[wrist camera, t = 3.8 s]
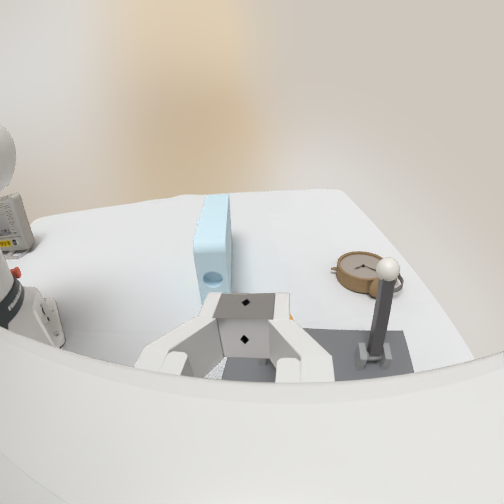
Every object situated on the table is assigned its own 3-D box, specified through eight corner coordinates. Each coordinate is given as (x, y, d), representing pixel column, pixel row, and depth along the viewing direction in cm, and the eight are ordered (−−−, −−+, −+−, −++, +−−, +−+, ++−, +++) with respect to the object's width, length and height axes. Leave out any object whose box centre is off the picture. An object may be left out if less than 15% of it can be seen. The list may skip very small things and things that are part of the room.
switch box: (393, 423, 27) (426, 384, 22) (226, 417, 30) (216, 378, 25) (384, 365, 35) (407, 320, 30) (240, 359, 38) (236, 311, 33)
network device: (40, 244, 71) (23, 189, 61) (27, 258, 64) (7, 200, 53) (1, 247, 71) (-15, 200, 60) (-11, 260, 63) (-29, 211, 53)
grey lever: (385, 365, 26) (404, 259, 24) (363, 365, 26) (381, 258, 25) (379, 354, 28) (395, 256, 27) (359, 355, 29) (374, 255, 27)
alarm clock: (352, 246, 60) (412, 261, 49) (352, 265, 62) (409, 282, 51) (325, 266, 54) (393, 287, 43) (325, 286, 56) (389, 309, 45)
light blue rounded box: (208, 244, 68) (203, 193, 61) (232, 243, 68) (228, 192, 61) (198, 309, 48) (186, 245, 41) (230, 308, 48) (225, 243, 41)
